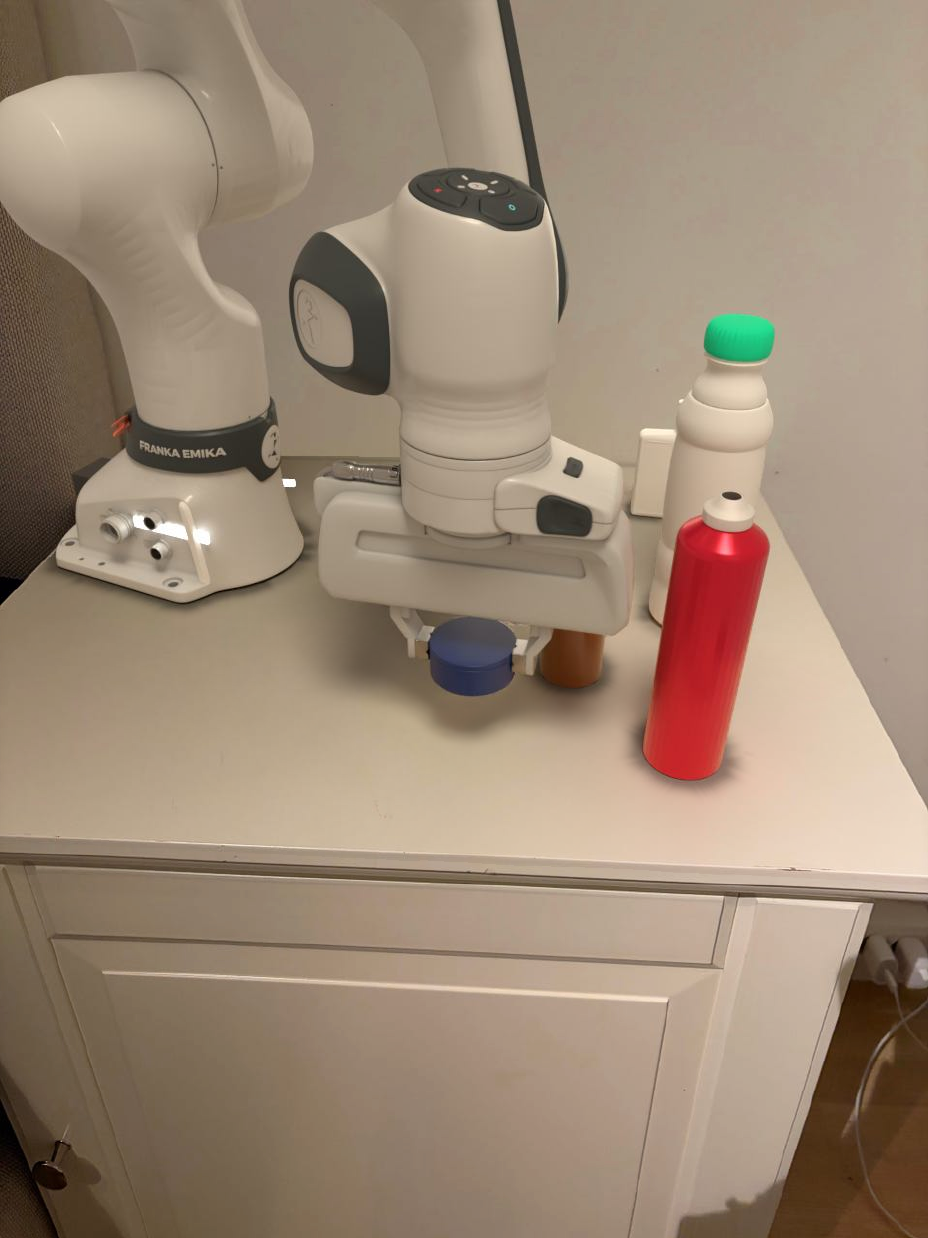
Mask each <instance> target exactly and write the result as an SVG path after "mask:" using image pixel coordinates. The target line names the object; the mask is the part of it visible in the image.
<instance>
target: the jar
mask: <svg viewBox="0 0 928 1238" xmlns="http://www.w3.org/2000/svg"><path fill="white" fill-rule="evenodd" d="M605 642H606V635H599V634H592V633H585V632H578V631H571V630H564V629H556V628H554V631H553V634H552V638H551V640H550V641H549V642H548V643H547V644H546V645H545V647H544V648H543V649H542V650H541V651H540V654H539V655H540V656H539V671H540V673H541V675H542V676H543V678H544V679H545V680H546V681H548V682H550V683H551V684H553V685H554V686H555V685H556V686H557V687H558V686H559V687H562V688H569V689H579V688H586V687H589V686H591V685H593V684H594V683H595V682H597V681H598V680H599V678H600V677H601V674H602V668H603V667H602V666H603V658H604V650H605Z"/></svg>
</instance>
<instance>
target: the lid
mask: <svg viewBox="0 0 928 1238" xmlns="http://www.w3.org/2000/svg"><path fill="white" fill-rule="evenodd" d="M516 640H517V637H516V635H515V633H514V632H513V630H512V629H511V628H510V627H508V625H506V624H505V623H503V622H502V621H499V620H491V619H484V618H477V617H470V616H461V617H457V618H452V619H449V620H447V621H444V622H442V623H441V624H439V625H438V626H436V627H435V630H434V631H433V633H432V634H431V638H430V640H429V650H430V660H429V673H430V677H431V679H432V680H433V682H434V683H435V685H437V686H438V687H439V688H441V689H442V690H444V691H446V692H448V693H450V694H453V695H457V696H461V697H485V696H489V695H493V694H495V693H498V692H500V691H502V690H504V689H505V688H507V687H508V686H509V685H510V684H511V683H512V682H513V680H514V678H515V675H516V673H515V672H511V667H512V664H513V663H512V652H513V649H514V648H515V647H516V646H515V643H516Z"/></svg>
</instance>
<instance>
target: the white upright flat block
mask: <svg viewBox="0 0 928 1238" xmlns="http://www.w3.org/2000/svg"><path fill="white" fill-rule="evenodd" d="M684 399H685V398H682V399H678V405H677V411H676V413H677V412H678V409H679V407H680V405H681V403H682V402H683V400H684ZM674 424H675V425H674V429H673V428H671V429H670V428H649V427H648V428H647V427H646V428H643V429H641V430H640V431H639V436H638V438H639V439H638V444H637V445H638V446H637V454H636V462H635V470H634V477H633V486H632V494H631V503H630V510H629V511H630V514H631V515H633V516H638V517H639V516H640V517H650V518H661V519H663V507H664V499H665V492H666V485H667V478H668V472H669V466H670V461H671V456H672V451H673V446H674V442H675V438H676V435H677V428H676V423H674Z"/></svg>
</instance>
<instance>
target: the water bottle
mask: <svg viewBox="0 0 928 1238" xmlns="http://www.w3.org/2000/svg"><path fill="white" fill-rule="evenodd" d="M775 334H776V329H775V327H774V325H773V323H772V322H771V321H769V320H768V319H766V318H764V317H760V316H757V315H752V314H746V313H745V314H743V313H724V314H719V315H717V316H715V317H712V318H711V320H710V321H708V323H707V326H706V329H705V332H704V337H703V349H704V352H703V355H704V357H705V358H706V360H707V362H706V367H705V369H704V370H703V371H702V372H701V374H700V375H699V376H698V377H697V378H696V380H695V381H694V383H693V384H692V389H691V390H690V391H689V392H688V393H687V394H686V395H685V397H684V398H683V399H684V400H683V402H682V403H681V405H680V407H679V409H678V408H677V411H678V412H677V411H676V417H675V424H676V428H677V435H676V438H675V442H674V446H673V451H672V456H671V461H670V466H669V472H668V478H667V485H666V492H665V499H664V507H663V518H661V519H662V521H661V536H660V538H659V540H658V543H657V548H656V553H655V562H654V563H655V564H654V565H655V566H654V568H655V573H654V576H653V579H652V583H651V586H650V591H649V597H648V609H649V613H650V614H651V616H652V617H653V618H654V620H655V621H656V622H657V623H658V624H659V625H661V626H662V623H663V617H664V611H665V605H666V598H667V592H668V586H669V580H670V573H671V567H672V561H673V555H674V549H675V542H676V536H677V533H678V530H679V529H680V527H681V526H682V525H683V524H684V523H685V522H686V521H688V520H689V519H691V518H693V517H696V516H698V515H702V512H703V506H704V504H705V502H707V501H708V500H710V499H713V498H716V497H717V496H718V495H720V494H721V493H722V492H725V491H733V492H737V493H740V494H741V495H742V496H743V498H744V499H745V501H746V503H748V504H750V505H751V506H752V507H753V508H754V510H755V511H756V509H757V504H758V500H759V496H760V495H759V494H760V491H761V485H762V480H763V475H764V467H765V461H766V454H767V443H768V442H769V440H770V438H771V436H772V433H773V430H774V424H775V423H774V422H775V421H774V413H773V409H772V406H771V402H770V400H769V398H768V389H767V385H766V383H765V381H764V379H763V375H762V369H763V366H764V365H765V364H766V363H767V362H768V361H769V357H770V355H771V353H772V351H773V348H774V343H775V337H776V335H775Z"/></svg>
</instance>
